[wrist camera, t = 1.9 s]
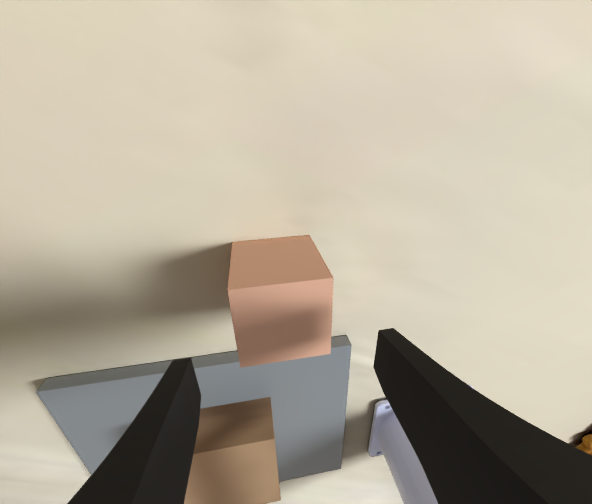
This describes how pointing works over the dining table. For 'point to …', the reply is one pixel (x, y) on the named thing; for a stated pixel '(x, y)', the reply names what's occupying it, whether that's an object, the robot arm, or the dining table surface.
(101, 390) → the baseplate
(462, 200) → the dining table surface
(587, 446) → the gear puzzle
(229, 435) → the walnut block
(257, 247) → the terracotta brick
